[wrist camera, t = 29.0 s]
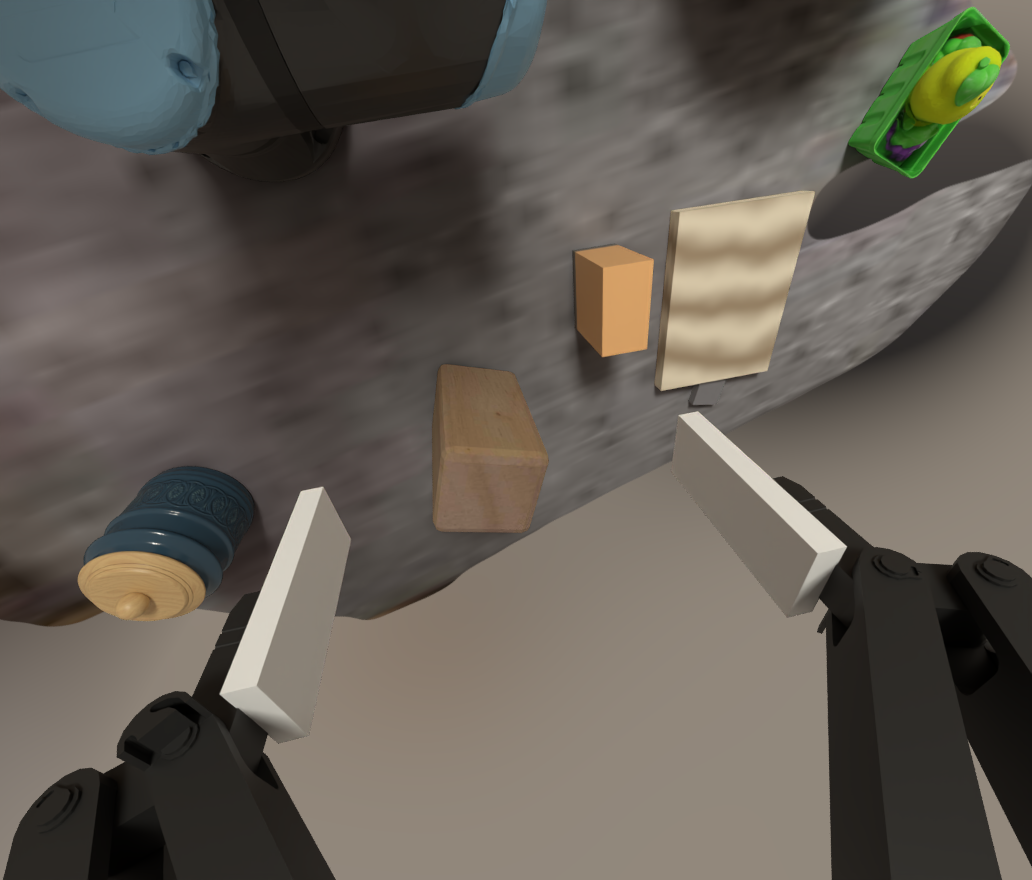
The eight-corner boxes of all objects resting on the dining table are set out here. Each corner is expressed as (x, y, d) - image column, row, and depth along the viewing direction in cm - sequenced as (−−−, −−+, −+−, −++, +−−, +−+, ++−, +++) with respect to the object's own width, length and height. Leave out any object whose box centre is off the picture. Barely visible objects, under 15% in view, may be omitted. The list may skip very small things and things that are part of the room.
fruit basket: (873, 180, 48) (980, 183, 38) (823, 147, 45) (926, 141, 35) (956, 59, 42) (1104, 28, 33) (906, 12, 39) (1053, -37, 30)
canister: (135, 517, 55) (31, 640, 41) (159, 448, 50) (50, 560, 36) (240, 544, 61) (181, 661, 46) (270, 485, 56) (215, 595, 42)
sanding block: (572, 250, 46) (603, 267, 38) (614, 243, 46) (653, 259, 38) (574, 327, 51) (602, 357, 43) (612, 320, 51) (646, 348, 43)
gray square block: (695, 375, 59) (701, 380, 58) (719, 375, 60) (726, 380, 58) (687, 399, 61) (692, 404, 60) (710, 399, 62) (716, 404, 60)
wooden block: (515, 369, 53) (554, 458, 36) (502, 433, 58) (530, 536, 42) (438, 360, 50) (442, 451, 34) (431, 427, 55) (431, 535, 39)
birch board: (671, 210, 45) (680, 212, 44) (801, 190, 47) (815, 191, 45) (654, 384, 58) (661, 390, 56) (757, 365, 59) (767, 370, 58)
